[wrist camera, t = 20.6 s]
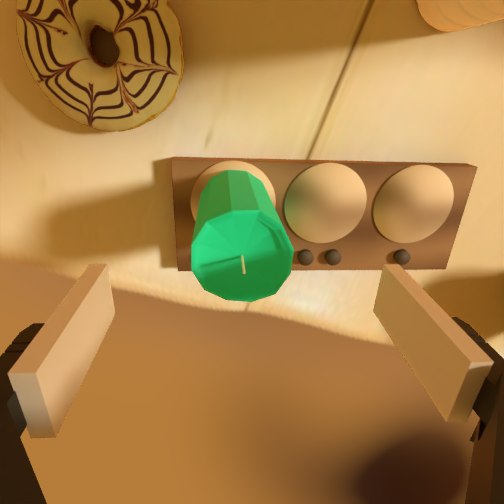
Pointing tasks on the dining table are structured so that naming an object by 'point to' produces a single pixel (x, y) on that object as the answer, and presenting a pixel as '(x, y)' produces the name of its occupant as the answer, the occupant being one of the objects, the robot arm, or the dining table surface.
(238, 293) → the candle
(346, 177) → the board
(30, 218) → the dining table surface
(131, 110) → the decorated donut
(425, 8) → the water bottle
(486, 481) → the robot arm
